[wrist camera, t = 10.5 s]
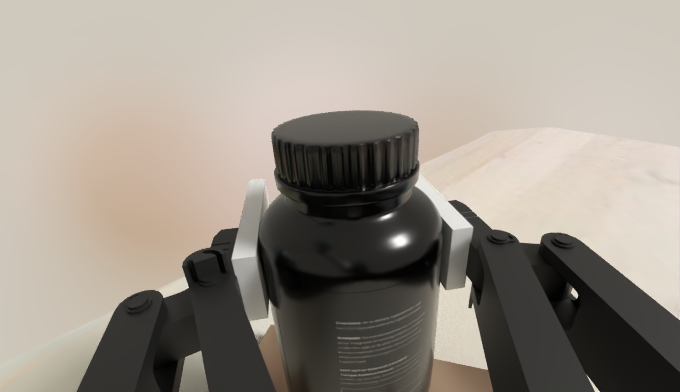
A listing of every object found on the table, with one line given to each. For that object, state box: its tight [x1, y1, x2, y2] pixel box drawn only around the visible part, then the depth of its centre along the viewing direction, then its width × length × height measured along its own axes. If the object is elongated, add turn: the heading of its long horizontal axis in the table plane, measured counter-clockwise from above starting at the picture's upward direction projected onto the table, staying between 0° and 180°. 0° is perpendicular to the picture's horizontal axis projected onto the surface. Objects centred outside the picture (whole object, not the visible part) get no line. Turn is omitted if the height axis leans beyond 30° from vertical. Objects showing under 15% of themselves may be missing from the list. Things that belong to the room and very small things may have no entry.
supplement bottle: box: [258, 111, 444, 392], centre depth 13 cm, size 7×7×12 cm
